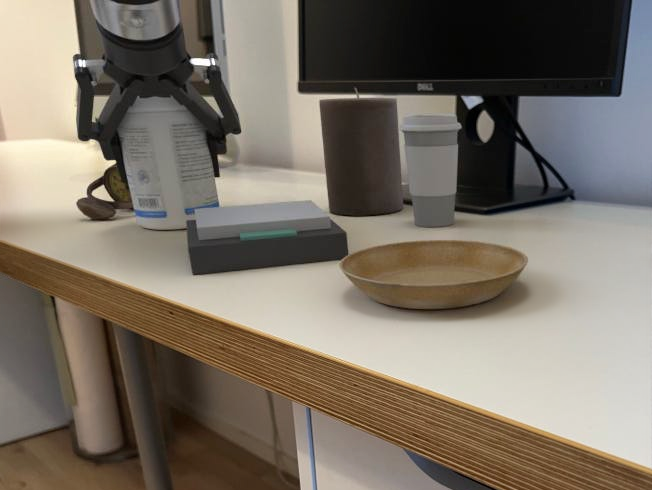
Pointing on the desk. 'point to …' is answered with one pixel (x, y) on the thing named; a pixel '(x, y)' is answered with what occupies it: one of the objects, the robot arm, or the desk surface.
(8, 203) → the desk surface
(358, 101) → the pillar candle
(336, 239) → the scale
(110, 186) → the antique desk clock
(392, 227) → the desk surface
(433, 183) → the cup
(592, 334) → the desk surface
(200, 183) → the supplement tub
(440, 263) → the plant saucer
